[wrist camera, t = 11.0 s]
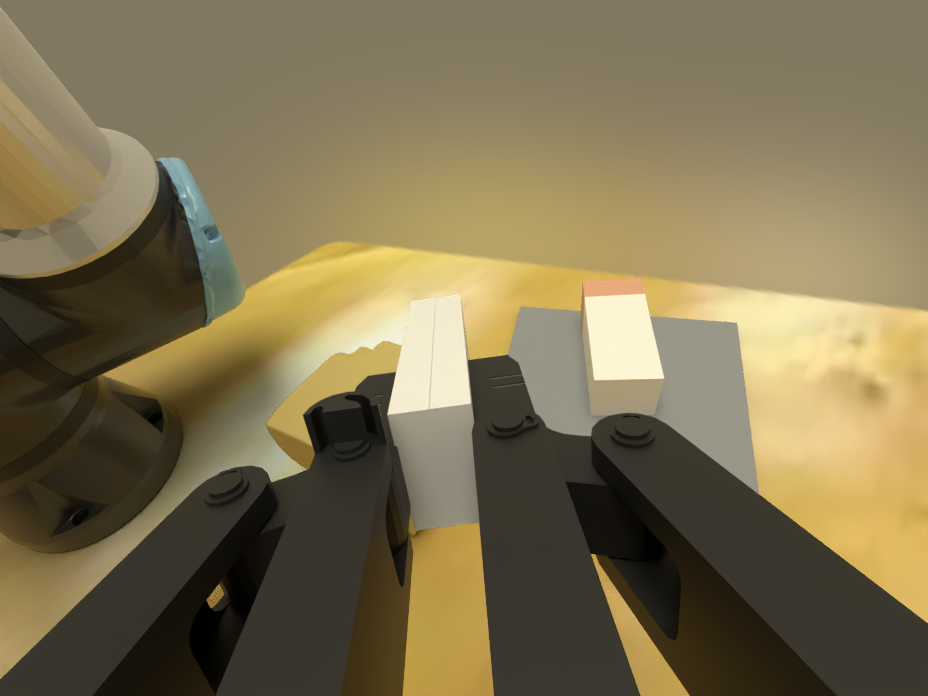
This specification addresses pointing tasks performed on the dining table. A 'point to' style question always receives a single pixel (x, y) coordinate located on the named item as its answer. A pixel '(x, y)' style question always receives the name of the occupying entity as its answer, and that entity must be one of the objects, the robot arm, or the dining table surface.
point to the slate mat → (683, 391)
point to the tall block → (619, 348)
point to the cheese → (325, 382)
